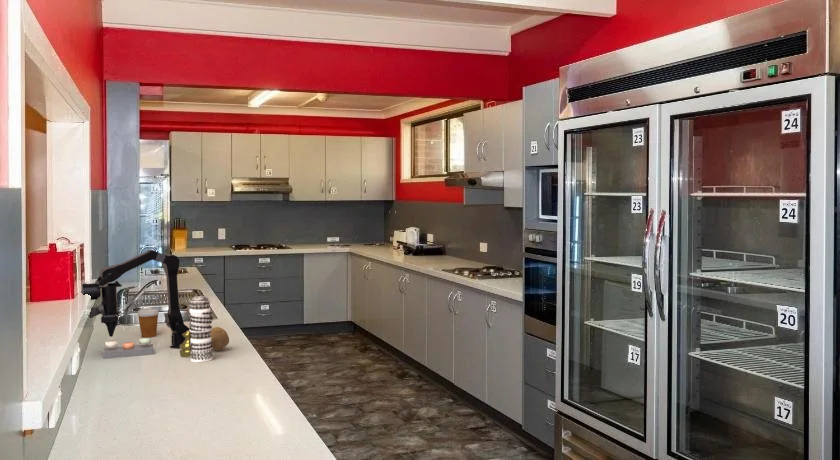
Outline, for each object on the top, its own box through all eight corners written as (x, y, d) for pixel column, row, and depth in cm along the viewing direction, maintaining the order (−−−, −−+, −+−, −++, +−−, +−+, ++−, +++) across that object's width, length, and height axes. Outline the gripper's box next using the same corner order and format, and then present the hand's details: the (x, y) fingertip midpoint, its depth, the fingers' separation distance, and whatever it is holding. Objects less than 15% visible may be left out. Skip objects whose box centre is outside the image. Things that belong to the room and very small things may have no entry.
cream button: (117, 344, 314) (117, 339, 314) (117, 346, 310) (116, 342, 310) (105, 345, 313) (105, 340, 313) (105, 347, 309) (105, 343, 308)
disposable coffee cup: (145, 339, 344) (144, 312, 343) (133, 336, 350) (132, 310, 349) (164, 335, 351) (163, 309, 351) (152, 333, 357) (151, 307, 356)
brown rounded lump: (201, 351, 316) (200, 328, 316) (216, 347, 324) (215, 324, 324) (218, 353, 312) (217, 329, 311) (233, 349, 320) (232, 325, 319)
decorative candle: (212, 355, 308) (210, 294, 307) (215, 360, 300) (212, 297, 298) (188, 358, 305) (186, 296, 303) (190, 363, 296) (188, 299, 295)
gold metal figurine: (193, 357, 306) (192, 333, 305) (176, 357, 308) (175, 332, 307) (202, 353, 313) (201, 329, 313) (185, 353, 315) (184, 329, 314)
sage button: (150, 341, 319) (150, 337, 319) (150, 344, 315) (150, 339, 315) (139, 342, 317) (139, 338, 317) (139, 344, 313) (139, 340, 313)
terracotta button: (134, 346, 317) (134, 341, 316) (134, 348, 313) (134, 343, 312) (122, 347, 315) (122, 342, 315) (122, 349, 311) (122, 344, 311)
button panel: (153, 349, 321) (152, 344, 321) (153, 354, 313) (153, 348, 313) (104, 354, 315) (103, 348, 315) (103, 358, 306) (103, 352, 306)
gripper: (89, 296, 316) (90, 333, 317) (86, 303, 299) (88, 342, 300) (118, 294, 320) (119, 331, 321) (117, 301, 302) (118, 340, 304)
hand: (111, 336), depth 311 cm, fingers closed
